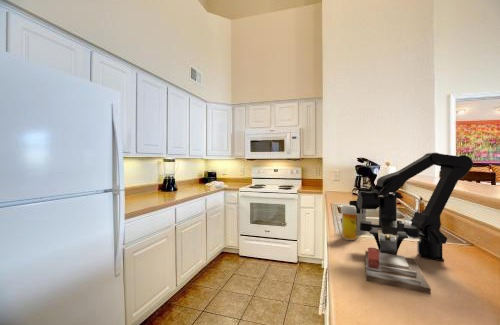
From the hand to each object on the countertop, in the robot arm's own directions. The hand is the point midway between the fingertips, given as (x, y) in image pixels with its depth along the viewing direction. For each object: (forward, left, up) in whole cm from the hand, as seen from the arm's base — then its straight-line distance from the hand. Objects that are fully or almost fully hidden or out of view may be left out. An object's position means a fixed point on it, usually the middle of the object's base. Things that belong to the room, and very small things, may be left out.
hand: (387, 251), depth 85 cm
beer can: (+14, -13, -1) cm, 19 cm away
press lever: (+6, +22, 0) cm, 23 cm away
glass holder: (+10, -25, -1) cm, 27 cm away
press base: (0, +15, -1) cm, 15 cm away
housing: (0, 0, -1) cm, 1 cm away
